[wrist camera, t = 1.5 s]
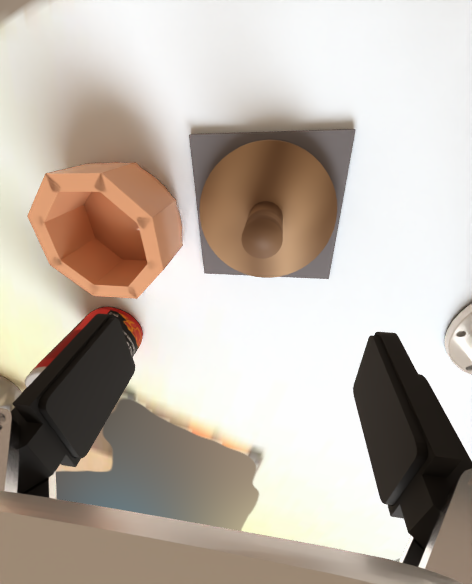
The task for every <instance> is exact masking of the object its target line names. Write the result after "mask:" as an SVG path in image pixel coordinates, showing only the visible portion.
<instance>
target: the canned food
mask: <svg viewBox="0 0 472 584" xmlns="http://www.w3.org/2000/svg"><path fill="white" fill-rule="evenodd" d="M99 313H100V314H113V315H114V316H115V317H116V318H117V319H119V321H120V324H121V327H122V329H123V332H124V335H125V338H126V341H127V344H128V347H129V349H130V352H131V355H132V357H133V356H134V354H135V353H136V351H137V349H138V348H139V346H140V344H141V342H142V336H143V333H142V329H141V326H140V325H139V323H138V322H137V321H136V320H135V319H134V318H133V317H132V316H131V315H130V314H128V313H126V312H125V311H122V310H120V309H117V308H112V307H102V308H98V309H96V310H94V311H92V312H90V313H89V314H88V315H87V316H86V317H85V318H84V319H83V320H82V321H81V322H80V323H79V324H78V325H77V326H76V327H75V328H74V329H73V330H72V331H71V332H70V333H69V334H68V335H67V336H66V337H65V338H64V339H63V340H62V341H61V342H60V343H59V344H58V345H57V346H56V347H55V348H54V349H53V350H52V351H51V352H50V353H49V354H48V355H47V356H46V357H45V358H44V359H43V360H42V361H41V362H40V363H39V364H38V365H37V366H36V367H35V368H34V369H33V370H32V371H31V372H30V374H29V375H28V376H27V377H26V379H25V385H26V388H27V387H28V386H29V385H30V384H31V383H32V382H33V381H34V380H35V379H36V378H37V377H38V375H39V374H40V373H41V372H42V371H43V370H44V369H45V368H46V367H47V366H48V365H49V364H50V363H51V362H52V361H53V360H54V359H55V357H56V356H57V355H58V354H59V353H60V352H61V351H62V350H63V349H64V348H65V347H66V346H67V345H68V344H69V343H70V342H71V340H72V339H73V338H74V337H75V336H76V335H77V334H78V333H79V332H80V331H81V330H82V329H83V328H84V327H85V326H86V325H87V324H88V322H89V321H90V320H91V319H92V318H93V317H94V316H95V315H96V314H99Z"/></svg>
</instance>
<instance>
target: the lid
mask: <svg viewBox="0 0 472 584" xmlns="http://www.w3.org/2000/svg"><path fill="white" fill-rule="evenodd" d="M199 211H200V222H201V227H202V230H203V234H204V236H205V238H206V240H207V242H208V244H209V246H210V247H211V249H212V250H213V251H214V253H215V254H216V255H217V256H218V257H219V258H220V259H221V260H222V261H223V262H224V263H226V264H227V265H228V266H230V267H231V268H233V269H235V270H237V271H239V272H241V273H244V274H247V275H251V276H255V277H279V276H283V275H288V274H290V273H293V272H295V271H297V270H299V269H301V268H303V267H305V266H306V265H308V264H309V263H310V262H312V261H313V260H314V259H315V258H316V257H317V256H318V255H319V254H320V253H321V252H322V250H323V249H324V248H325V246H326V245H327V243H328V241H329V239H330V238H331V235H332V233H333V230H334V227H335V223H336V218H337V198H336V192H335V189H334V186H333V183H332V181H331V179H330V177H329V175H328V173H327V171H326V170H325V169H324V167H323V166H322V164H321V163H320V162H319V161H318V160H317V159H316V158H315V157H314V156H313V155H312V154H310V153H309V152H308V151H306V150H305V149H303V148H301V147H299V146H298V145H295V144H292V143H289V142H286V141H281V140H259V141H255V142H251V143H248V144H246V145H243V146H241V147H239V148H237V149H235V150H234V151H232V152H231V153H229V154H228V155H227V156H225V157H224V158H223V159H222V160H221V161H220V162H219V163H218V164H217V165H216V166H215V167H214V169H213V170H212V172H211V173H210V174H209V176H208V178H207V180H206V182H205V185H204V187H203V190H202V194H201V199H200V208H199Z"/></svg>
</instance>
